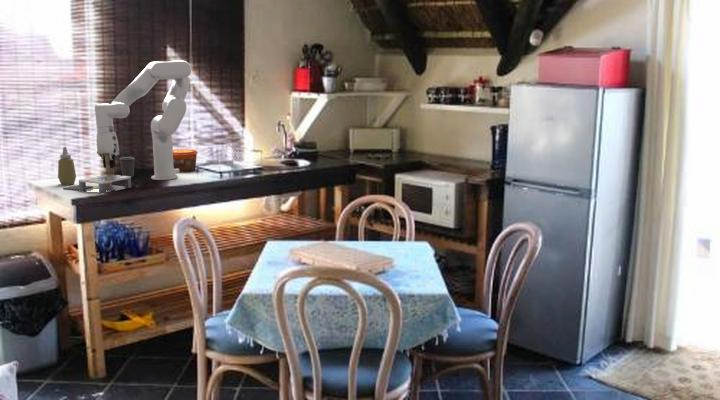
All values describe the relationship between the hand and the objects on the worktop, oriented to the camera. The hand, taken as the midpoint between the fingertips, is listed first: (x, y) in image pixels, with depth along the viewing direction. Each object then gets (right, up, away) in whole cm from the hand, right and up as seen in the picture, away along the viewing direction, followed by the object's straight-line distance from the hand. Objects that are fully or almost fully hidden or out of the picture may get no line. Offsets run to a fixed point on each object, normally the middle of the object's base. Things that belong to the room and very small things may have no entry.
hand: (109, 167), depth 339 cm
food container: (+25, 0, +41) cm, 48 cm away
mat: (-10, -11, -13) cm, 20 cm away
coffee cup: (+2, -4, +21) cm, 22 cm away
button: (+4, -9, -15) cm, 18 cm away
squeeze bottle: (-19, -9, -3) cm, 21 cm away
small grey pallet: (+4, -11, -15) cm, 19 cm away
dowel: (0, -5, +1) cm, 5 cm away
